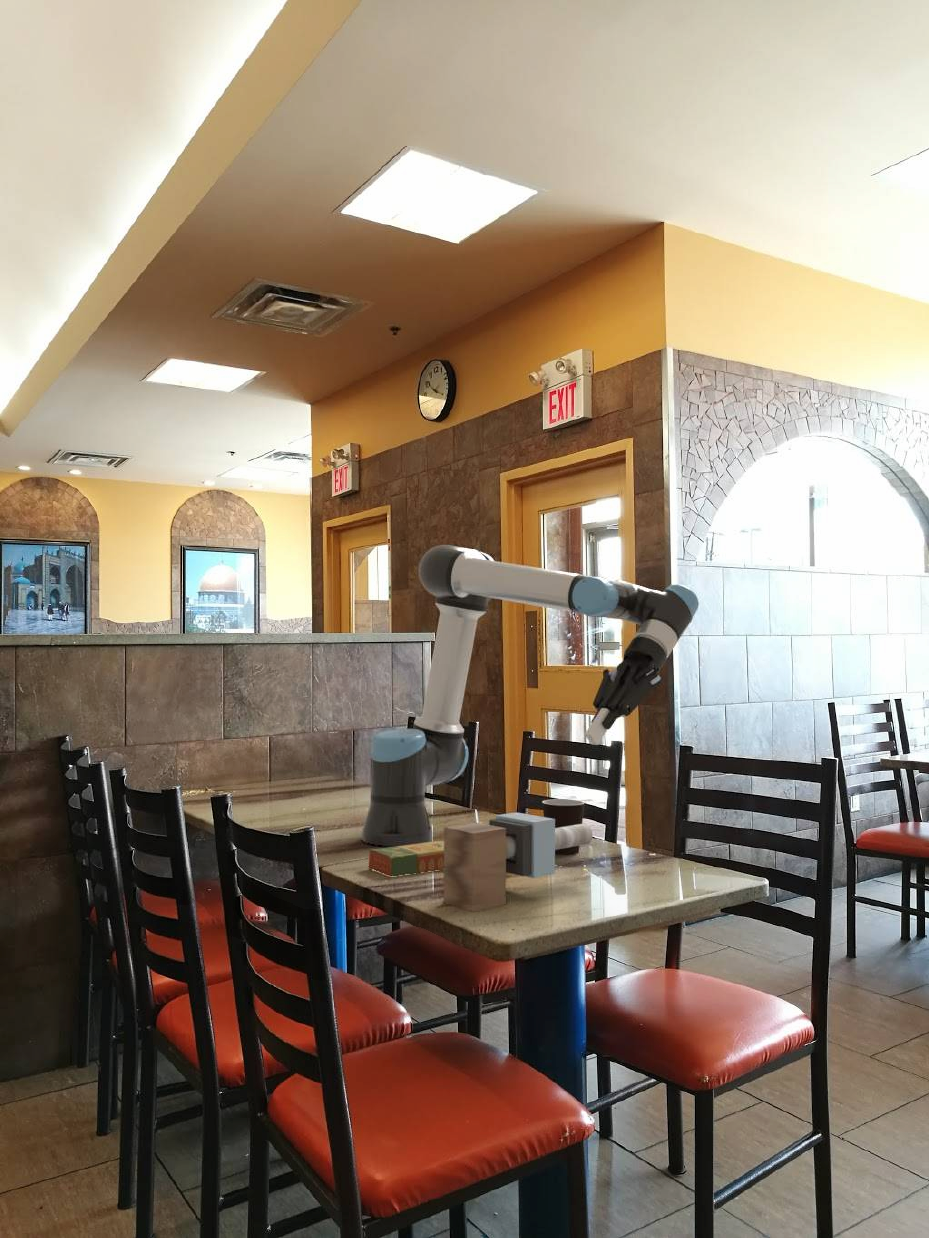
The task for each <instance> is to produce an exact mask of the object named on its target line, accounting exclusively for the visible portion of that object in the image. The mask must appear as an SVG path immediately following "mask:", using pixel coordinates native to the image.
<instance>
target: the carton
mask: <svg viewBox="0 0 929 1238" xmlns="http://www.w3.org/2000/svg"><path fill="white" fill-rule="evenodd" d="M369 868H371V869H374V870H376V871H379V872H381V873H384V874H386V875H389V876H399V875H405V874H414V873H421V872H428V871H435V870H443V869H444V840H435V841H433V840H432V841H431V842H425V843H418V844H411V845H403V846H387V847H381V848H371V849H370V850H369V856H368V869H369ZM443 871H444V870H443Z"/></svg>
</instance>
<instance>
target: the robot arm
mask: <svg viewBox="0 0 929 1238" xmlns="http://www.w3.org/2000/svg"><path fill="white" fill-rule="evenodd" d="M418 577H419V582H420V583H421V586H422V587H423V588H424V590H426V591H427V592H428V593H429V594H430V595H432V596H434V597H435V606H436V608H437V609H438V610H439V613H440V614H439V619H438V625H437V629H436V635H435V641H434V647H433V653H432V658H431V664H430V669H429V675H428V679H427V680H428V681H427V684H426V685H427V686H426V689H425V690H426V691H425V697H424V703H423V709H422V714H421V715H420V716H419V717H418V718H416V719H415V720H414V722H413V727H412V728H398V729H391V730H385V731H382V732H378V733H377V734H375V735H374V736H373V738H372V739H371V747H370V748H371V749H370V752H369V756H370V805H369V808H368V811H367V814H366V817H365V821H364V825H363V827H362V829H361V841H362V840H363V841H364V842H367V843H370V844H369V845H371V844H375V845H374V846H378V845H382V846H381V847H395V846H403V845H411V844H418V843H425V842H433V828H432V825H431V822H430V818H429V815H428V811H427V808H426V804H425V802H426V801H425V798H426V797H425V793H426V792H425V790H426V788H425V787H428V786H434V785H444V784H446V783H449V782H450V781H451V782H452V781H453V780H455V779H456V778H458V777H460V776H461V775H462V774H463V772H464V771H465V769H466V767H467V766H468V765H467V764H468V762H469V747H468V746H467V744H466V741H465V739H464V733H465V728H463V726H462V724H461V723H460V718H461V713H462V708H463V702H464V697H465V691H466V685H467V681H468V680H467V679H468V674H469V669H470V663H471V658H472V652H473V647H474V642H475V641H474V640H475V636H476V629H477V624H478V620H479V618H480V617H482V616H483V615H485V614H486V613H487V607H488V602H489V601H490V600H491V599H497V600H503V601H508V602H514V603H520V604H524V605H529V606H530V605H531V606H535V607H542V608H548V609H552V610H558V611H559V610H560V611H565V612H570V613H575V614H580V615H585V616H587V617H591V618H606V619H614V620H622V621H625V622H629V623H633V624H636V625H639V626H640V627H639V629H638V630H637V631H636V633H635V634H634V637H633V639H631V641H630V642H629V644H628V646H627V647H626V648H625V650H624V652H623V660H622V661H621V662H620V663H619V664H617V666H616V669H613V670H609V669H608V668H606V669H604V670H603V671H602V677H603V678H602V680H601V682H600V685H599V687H598V689H597V693H596V694H595V697H594V699H593V702H592V706H594V708H595V710H596V713H595V715H594V716H593V717H592V719H591V721H590V723H591V724H590V725H589V727H588V729H587V730H586V732H585V733H584V736H585V737H586V739H587V741H588V742H589V743H590V745H592V746H593V745H595V746H598V745H599V744H600V742H601V741H602V740H603V737H604V736H605V735H606V733H607V731H608V730H610V729H611V728H612V727H613V725H614V724H615V722H616V720H617V719H619V718H620V717H621V716H625V717H629V716H630V715H631V714H632V713H633V712H634V711H635V709H636V708H638V706H639V705H640V704H641V703H642V702H643V701H644V700H645V698H646V697H648V695H649V694H650V693H651V692H652V691H653V690H654V689H655V688H657V687H659V685H660V684H662V683H663V680H662V678H661V676H660V675H659V672H660V671H661V670H662V668H663V666H664V664H665V662H666V661H667V658H669V656H670V654H672V651H673V650H674V648H675V647H676V645H677V643H678V642H679V640H680V638H681V637H682V636H683V634H684V632H685V631H686V629H687V628H688V626H689V625H690V624H691V623H692V621H693V618H694V617H695V615H696V613H697V611H698V609H699V605H700V602H699V599H698V596H697V595H696V593H695V592H694V591H693V590H692V589H691V588H690V587H688V586H685V585H684V584H680V583H676V584H670V585H668V586H667V587H666V588H664V590H663V591H660V590H657V589H656V590H655V589H650V588H647V587H644V586H640V585H638V584H634V583H632V582H627V581H625V580H622V579H619V578H618V579H616V578H612V577H607V578H606V577H603V576H596V575H586V574H579V573H572V572H566V571H560V570H554V569H547V568H543V567H535V566H534V567H533V566H529V565H522V564H515V563H508V562H503V561H498V560H497V561H496V560H494V559H493V558H492V557H491V556H490V555H489V554H487V553H485V552H482V551H481V550H477V549H473V548H466V547H461V546H457V545H456V546H455V545H451V544H441V545H437V546H434V547H432V548H430V549H428V551H427V552H425V553H424V555H423V556H422V558H421V559H420V561H419V566H418ZM363 841H362V842H363ZM364 842H363V843H364ZM367 843H366V844H367Z"/></svg>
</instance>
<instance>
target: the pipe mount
mask: <svg viewBox="0 0 929 1238" xmlns="http://www.w3.org/2000/svg"><path fill="white" fill-rule="evenodd" d="M443 831H444V832H443V836H444V837H443V841H444V870H443V903H444V904H447V905H449V906H453V907H456V908H460V909H463V910H465V911H466V910H467V911H469V912H473V913H474V912H477V911H478V912H479V911H482V910H486V909H491V908H495V907H499V906H503V905H507V904H506V903H507V902H506V901H507V900H506V898H507V897H506V894H507V893H506V891H507V890H506V889H507V883H506V881H507V872H506V859H509V858H516V835H514V834H511V835H508V836H506V828H502V827H497V826H492V825H489V824H485V823H481V822H470V823H464V824H458V825H457V824H456V825H450V826H444V828H443ZM592 840H593V831H592V828H591V827H590V826H589V824H587V823H582V824H578V825H572V826H566V827H559V828H555V850H557V849H563V848H568V847H574V846H579V845H580V846H583V845H584V846H585V845H588V844H590V843H591V842H592Z"/></svg>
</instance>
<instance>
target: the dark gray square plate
mask: <svg viewBox="0 0 929 1238" xmlns="http://www.w3.org/2000/svg"><path fill="white" fill-rule="evenodd" d="M488 825H492V826H497V827H502V828H506V833H509V834H514V835H516V861H514V860H509V859H506V874H511V875H515V876H519V877H520V876H521V877H527V875H532V825H529V824H524V823H518V822H513V821H508V820H502V819H496V818H494V819H489V821H488Z"/></svg>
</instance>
